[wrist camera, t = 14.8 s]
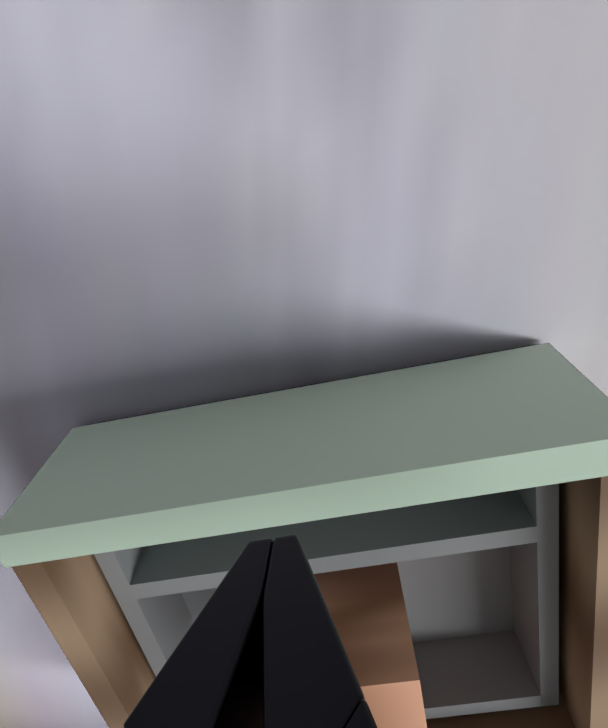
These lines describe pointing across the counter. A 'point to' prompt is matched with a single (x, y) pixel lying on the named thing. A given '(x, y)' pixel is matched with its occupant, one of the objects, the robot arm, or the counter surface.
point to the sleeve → (537, 724)
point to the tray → (346, 507)
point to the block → (377, 640)
